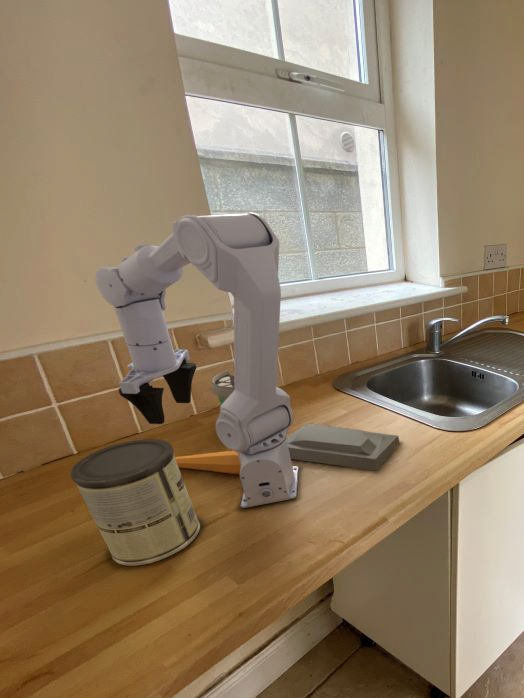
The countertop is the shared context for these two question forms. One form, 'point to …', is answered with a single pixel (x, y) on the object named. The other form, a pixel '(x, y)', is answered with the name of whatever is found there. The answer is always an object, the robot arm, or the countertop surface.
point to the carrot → (212, 462)
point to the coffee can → (137, 500)
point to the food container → (223, 385)
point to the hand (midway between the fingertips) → (170, 412)
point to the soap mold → (341, 446)
